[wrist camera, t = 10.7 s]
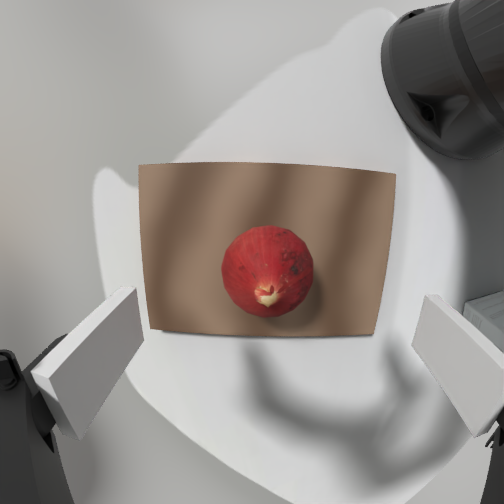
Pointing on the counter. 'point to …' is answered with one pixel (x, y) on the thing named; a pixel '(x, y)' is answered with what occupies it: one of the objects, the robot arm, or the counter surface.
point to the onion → (267, 271)
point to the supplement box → (488, 317)
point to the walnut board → (255, 215)
